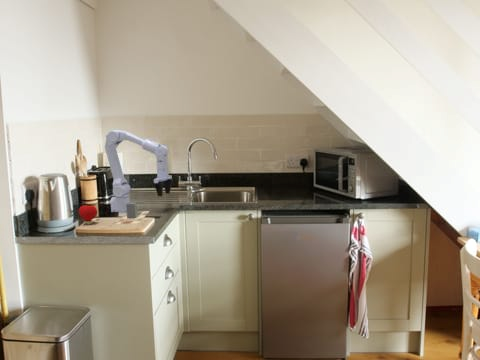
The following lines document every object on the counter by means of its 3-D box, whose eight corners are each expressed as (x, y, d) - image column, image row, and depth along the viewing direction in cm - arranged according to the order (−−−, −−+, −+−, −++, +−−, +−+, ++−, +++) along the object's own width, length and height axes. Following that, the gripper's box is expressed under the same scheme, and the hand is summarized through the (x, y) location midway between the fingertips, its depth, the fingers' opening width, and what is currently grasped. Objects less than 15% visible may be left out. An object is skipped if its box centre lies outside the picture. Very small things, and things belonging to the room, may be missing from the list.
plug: (127, 218, 215) (126, 204, 214) (129, 216, 219) (128, 202, 218) (135, 218, 215) (134, 203, 214) (137, 216, 219) (136, 202, 218)
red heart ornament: (76, 227, 206) (74, 206, 205) (86, 224, 213) (84, 203, 211) (92, 228, 203) (90, 207, 201) (102, 225, 209) (100, 204, 208)
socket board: (112, 227, 205) (112, 223, 204) (127, 214, 230) (126, 211, 230) (138, 226, 205) (138, 222, 204) (150, 213, 230) (149, 210, 230)
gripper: (161, 170, 219) (163, 197, 221) (176, 167, 233) (177, 192, 235) (149, 170, 222) (151, 197, 224) (164, 167, 235) (166, 192, 237)
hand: (163, 194), depth 230 cm, fingers open, 7 cm apart
